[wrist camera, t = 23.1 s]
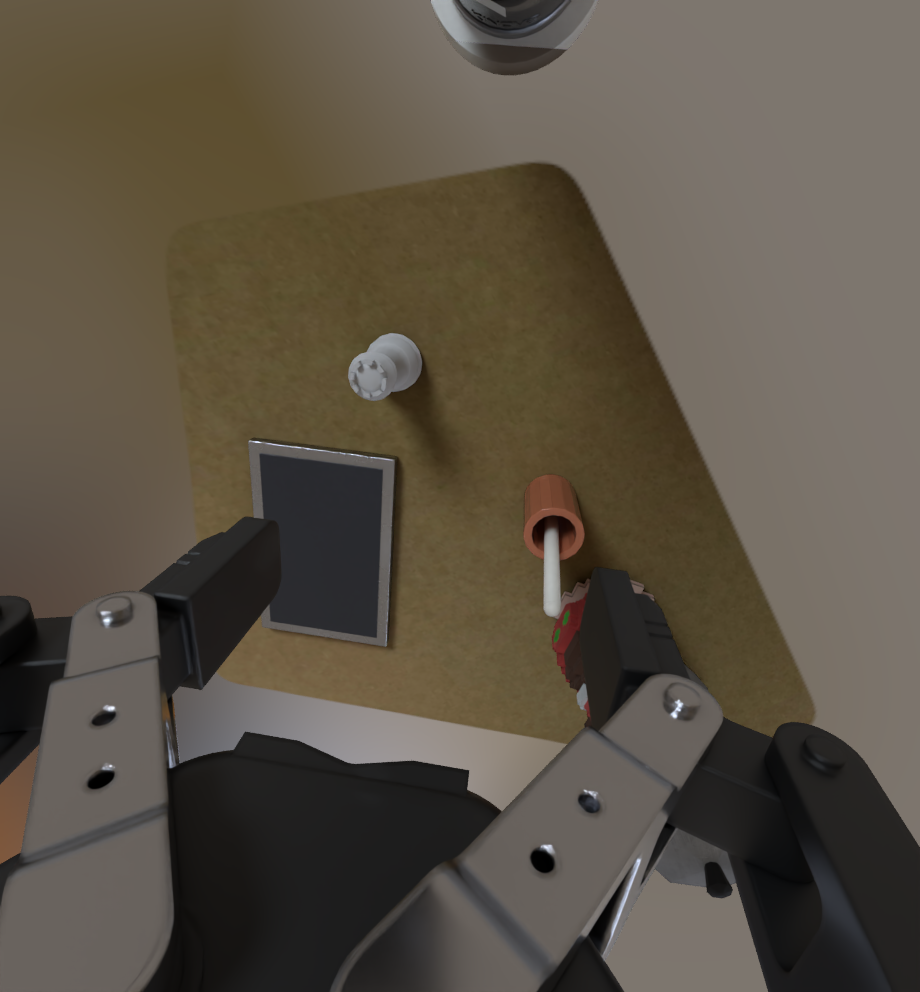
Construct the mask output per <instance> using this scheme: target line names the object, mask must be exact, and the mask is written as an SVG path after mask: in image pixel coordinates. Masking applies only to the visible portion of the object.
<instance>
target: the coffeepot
mask: <svg viewBox="0 0 920 992" xmlns="http://www.w3.org/2000/svg"><path fill="white" fill-rule="evenodd" d="M685 668H686V670H687V672H688V675H689V677H690V680H691V681H693V682H695V683H697V684H698V685H700V686H702V687H703V688H704V689H706V690H707V691H708V688H707V687H706V686H705V685H704V684H703V683H702V682H701V680H700V679H699V678H698V677H697V676H696V674H695V673H693V672H692V671H691V670H690V669H689V668H688V667H687V666H686V665H685ZM655 869H656V870H657V871H658V872H659V873H660V874H661V875H662V876H663V877H665V878H666V879H667V880H668V881H669V882H671V883H678V884H686V885H693V886H701V887H706V888H707V892H708V893H709V894H710V895H711V896H712V897H716V898H724V897H727V896H730V895H731V893H732V890H733V889H732V887H731V885H732V884H734V883H736V880H735V877H734V874H733V870H732V867H731V863H730V860H729V857H728V853H727V852H726V851H724V850H722V849H720V848H718V847H715V846H713V845H711V844H709V843H707V842H705V841H703V840H701V839H699V838H697V837H695V836H693V835H691V834H688V833H686V832H684V831H682V830H680V829H678V831H677V832H676V834H675V836H674V837H673V839H672V841H671V842H670V844H669V846H668V848H667V849H666V851H665V853H664V854H663V856H662V858H661V859H660V861H659V863H658V865H657V866H656V868H655Z"/></svg>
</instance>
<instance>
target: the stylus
mask: <svg viewBox="0 0 920 992" xmlns="http://www.w3.org/2000/svg"><path fill="white" fill-rule="evenodd" d="M544 611H545V613H546V614H547V615H548V616H551V617H555V616H557V615H558V614H559V613H560V611H561V596H560V560H559V525H558V516H557V515H551V516H546V517H544Z"/></svg>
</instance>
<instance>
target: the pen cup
mask: <svg viewBox="0 0 920 992" xmlns="http://www.w3.org/2000/svg"><path fill="white" fill-rule="evenodd" d="M551 515H557V516H558V525H559V560H565V559H568V558H569V557H571V556H572V555H574V554H576V553H577V551H578V550H579V549H580V547H581V546H582V544H583V540H584V536H585V532H584V528H583V523H582V519H581V515H580V510H579V506H578V502H577V498H576V493H575V490H574V488H573V486H572V485H571V483H570V482H569V481H568V480H566V479H565V478H563V477H561V476H558V475H551V474H550V475H543V476H540V477H538V478H536V479H534V480H533V481H532V482H531V483H530V484H529V485H528V487H527V489H526V491H525V494H524V526H523V537H524V540H525V544H526V546H527V548H528V549H529V550H530V551H531V552H532V554H534V555H535V556H537V557H539V558H541V559H543V560H544V517H546V516H551Z"/></svg>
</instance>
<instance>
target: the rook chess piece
mask: <svg viewBox="0 0 920 992" xmlns="http://www.w3.org/2000/svg"><path fill="white" fill-rule="evenodd" d="M421 367H422V359H421V355H420V352H419V350H418V348H417V347H416V345H415V344H414V343H413V341H411V340H410V339H408V338H407V337H405V336H404V335H400V334H394V333H390V334H386V335H382V336H381V337H379V338H378V339H377V340H376V341H374V342H373V343H372V344H371V345H370V347H369V349H368V351H367V352H366V353H362V354H360V355H358V356H357V357H356V358H355V359H353V361H352V363H351V365H350V367H349V375H348V378H349V381H350V384H351V387H352V388H353V390H354V391H355V392H356V393H357V394H358V395H359V396H361V397H362V398H364V399H367V400H372V401H376V400H381V399H384V398H385V397H386V396H388V395H389V394H390V393H391V391H392V392H396V391H401V390H405V389H407V388H408V387H410V386H411V385H412V384H414V383H415V382H416V380H417V379H418V377H419V375H420V373H421Z"/></svg>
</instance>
